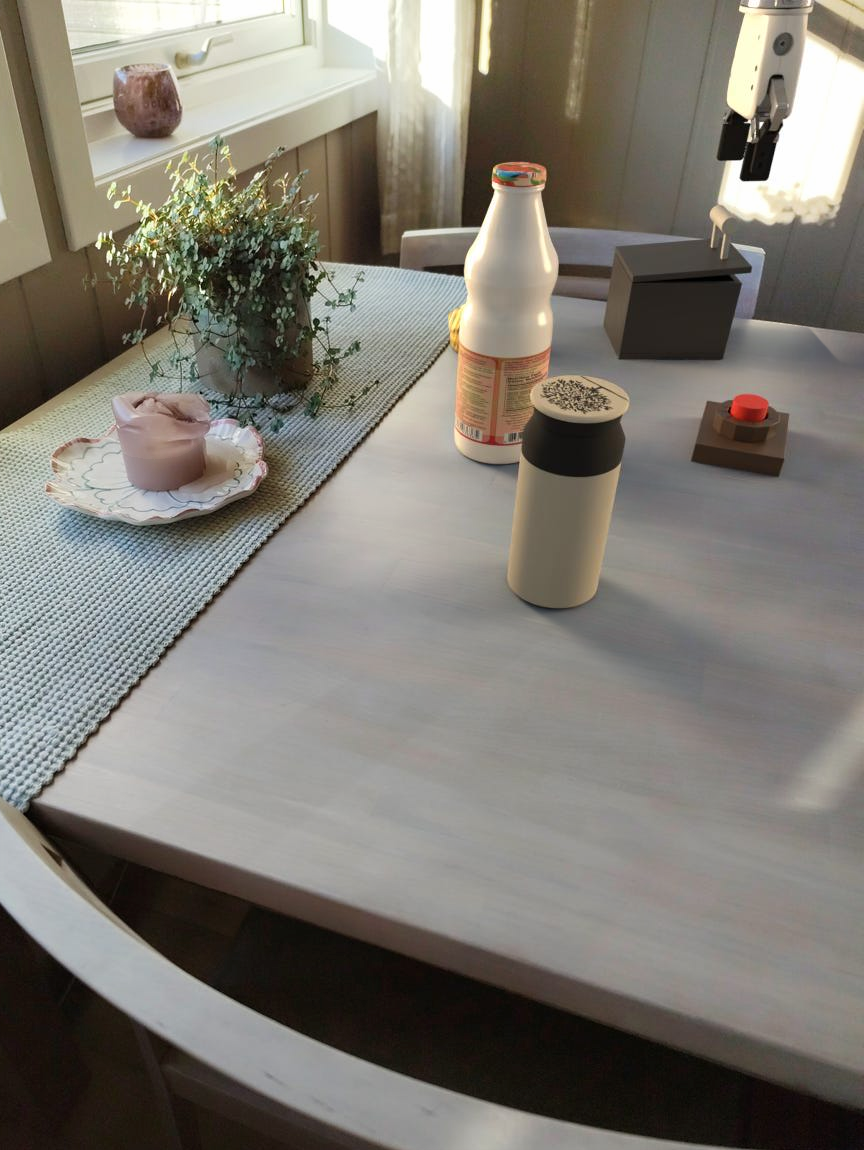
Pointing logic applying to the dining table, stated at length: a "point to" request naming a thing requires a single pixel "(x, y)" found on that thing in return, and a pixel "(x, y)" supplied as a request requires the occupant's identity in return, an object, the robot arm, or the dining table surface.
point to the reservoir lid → (687, 255)
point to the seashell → (455, 327)
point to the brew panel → (741, 440)
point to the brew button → (749, 408)
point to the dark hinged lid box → (670, 316)
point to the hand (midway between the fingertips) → (740, 169)
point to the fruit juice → (505, 317)
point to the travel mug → (566, 489)
